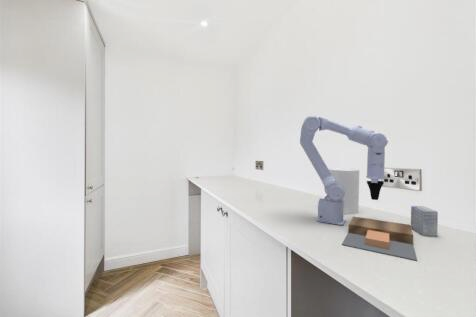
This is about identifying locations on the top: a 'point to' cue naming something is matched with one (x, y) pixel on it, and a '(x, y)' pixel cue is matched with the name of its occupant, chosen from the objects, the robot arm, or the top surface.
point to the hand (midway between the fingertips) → (374, 199)
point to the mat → (394, 248)
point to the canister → (348, 188)
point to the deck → (382, 229)
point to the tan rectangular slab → (377, 239)
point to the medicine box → (424, 220)
